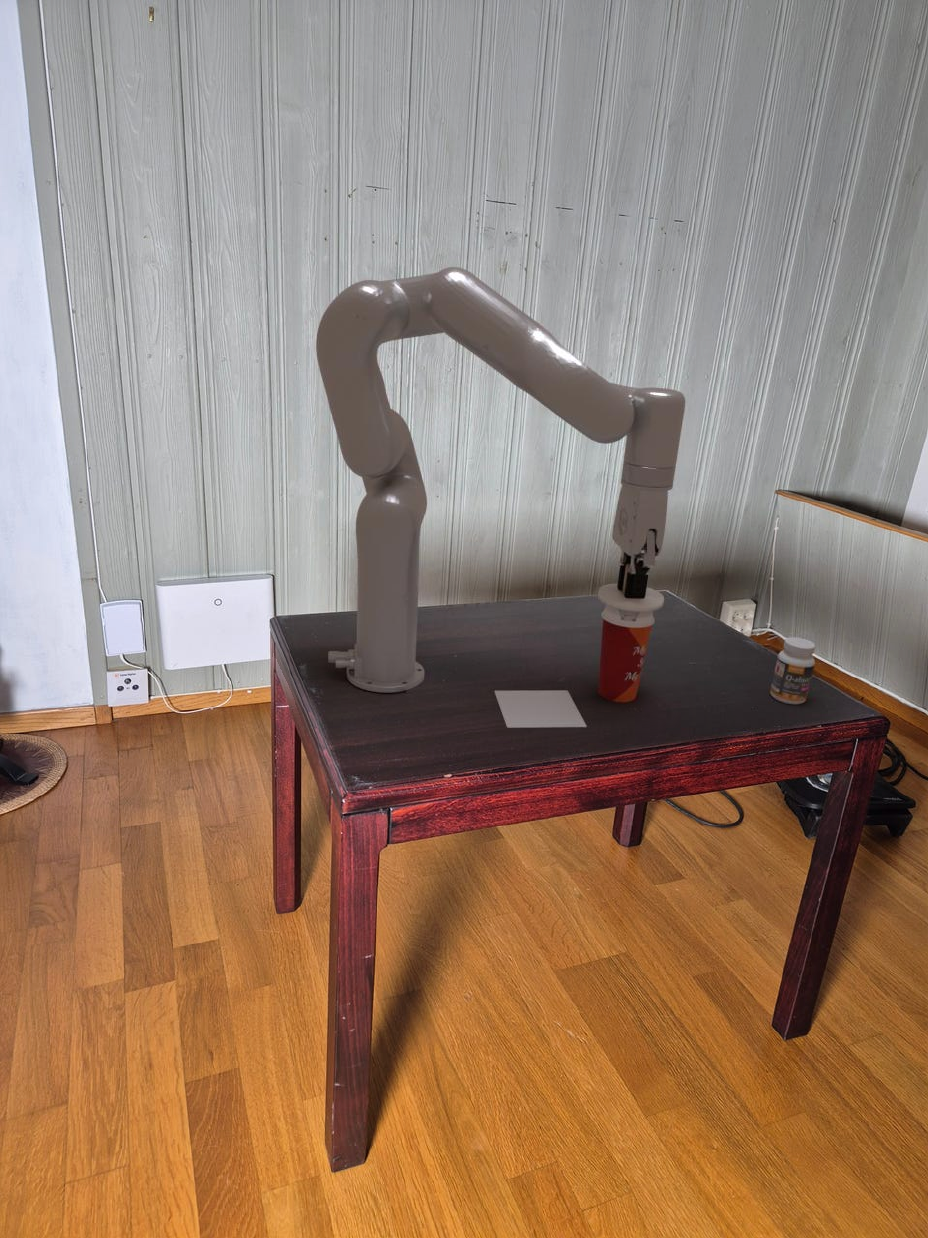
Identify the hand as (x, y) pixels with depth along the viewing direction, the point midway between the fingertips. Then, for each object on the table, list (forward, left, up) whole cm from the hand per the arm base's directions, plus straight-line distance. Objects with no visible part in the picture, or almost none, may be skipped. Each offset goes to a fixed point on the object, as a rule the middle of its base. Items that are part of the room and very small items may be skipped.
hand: (630, 592), depth 129 cm
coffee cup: (0, 0, -18) cm, 18 cm away
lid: (0, 0, -1) cm, 1 cm away
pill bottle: (+29, -1, -18) cm, 34 cm away
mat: (-14, -5, -18) cm, 23 cm away
